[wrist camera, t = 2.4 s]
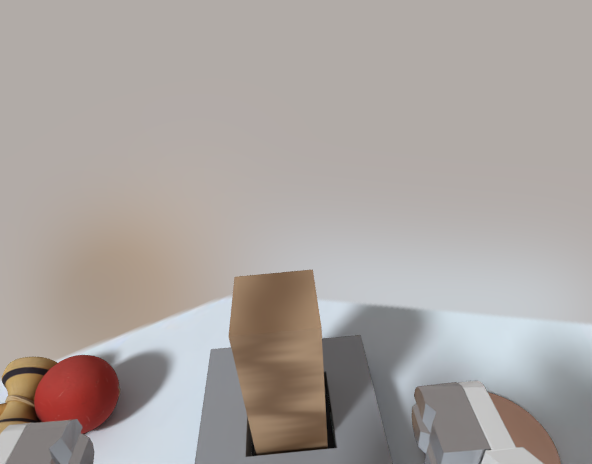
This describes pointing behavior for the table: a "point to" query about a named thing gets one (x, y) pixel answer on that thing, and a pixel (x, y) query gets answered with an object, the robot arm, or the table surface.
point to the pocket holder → (342, 404)
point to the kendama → (59, 391)
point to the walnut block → (280, 360)
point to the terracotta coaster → (526, 430)
